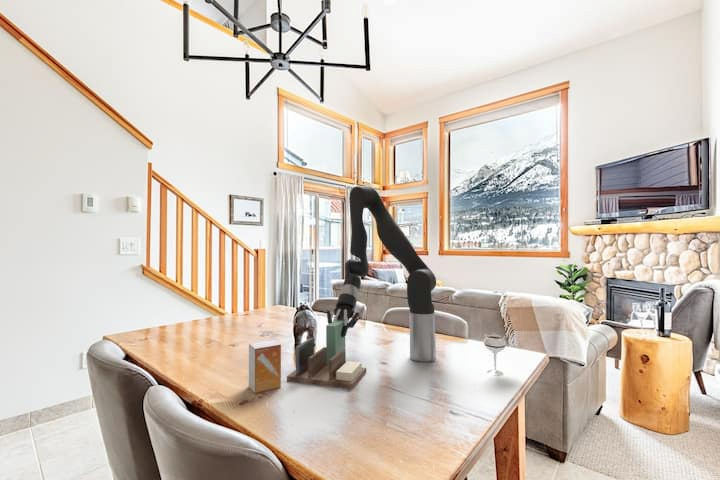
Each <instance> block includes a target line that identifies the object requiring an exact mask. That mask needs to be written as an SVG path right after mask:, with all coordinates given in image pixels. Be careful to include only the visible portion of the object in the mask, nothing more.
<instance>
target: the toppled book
mask: <svg viewBox="0 0 720 480" xmlns="http://www.w3.org/2000/svg"><path fill="white" fill-rule="evenodd" d="M362 365H363V363H362V362H361V361H351V360H347V361H346V363H345V364H344V365H343V366H342V367H341V368H339V369H338V370H337V371H336V379H337V380H346V381H352V380H353V379H354V378H355V377H356V376H357V375H358V373H359V372H360V371H361V370H362V368H363V367H362Z"/></svg>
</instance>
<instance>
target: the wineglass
mask: <svg viewBox="0 0 720 480" xmlns="http://www.w3.org/2000/svg"><path fill="white" fill-rule="evenodd" d="M483 336H484V340H483V344H484V347H486V349H487V350H488V351H490V352H492V353H493V361H494V366H493V367H494V369H489V370H487V372H486V373H488V374H489V375H493V376H503V375H504V372H502V371H500V370H497V354H498V353H500V352H502V351H503V350H504V349H505V348H506V347H507V346H506V345H507V341H506V340H505V339H506V336H505V335H504V334H499V333H485V334H484V335H483Z"/></svg>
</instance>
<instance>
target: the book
mask: <svg viewBox="0 0 720 480" xmlns="http://www.w3.org/2000/svg"><path fill="white" fill-rule="evenodd" d="M343 326H344V320H336V321H334V322H333V321H332V323H330V324H328V323H327V324H326V327H325V328H326V329H325V331H326V332H325V333H326V339H325V341H326V342H325V343H326V344H325V345H326V353H327V364H329V360H330V359H331V358H332V357H333V356H335V355H336V354H337V353H338V352H340V351H341V350H342V349H346V336H344V337H342V336H341V332H342V328H343Z"/></svg>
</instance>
